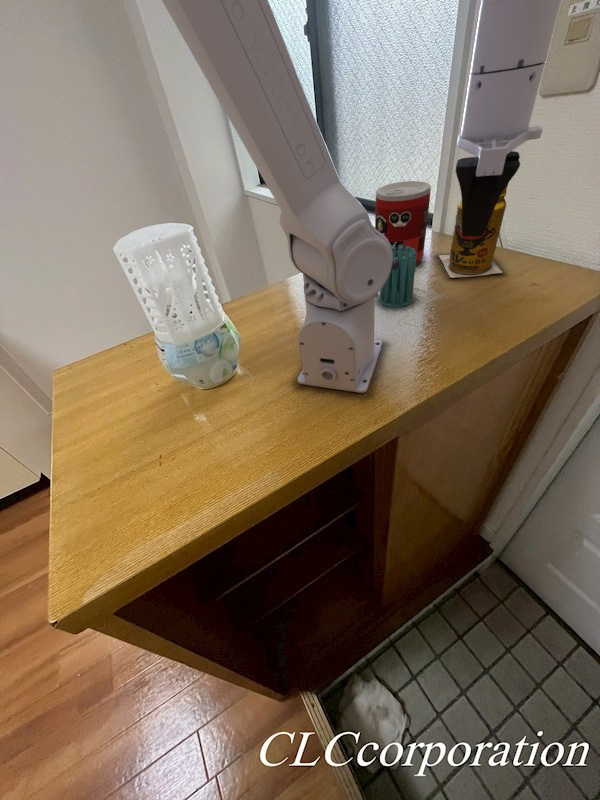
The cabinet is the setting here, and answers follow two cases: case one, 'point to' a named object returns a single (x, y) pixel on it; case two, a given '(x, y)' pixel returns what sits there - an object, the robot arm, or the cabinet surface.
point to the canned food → (403, 214)
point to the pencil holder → (400, 278)
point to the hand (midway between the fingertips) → (472, 233)
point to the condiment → (475, 246)
